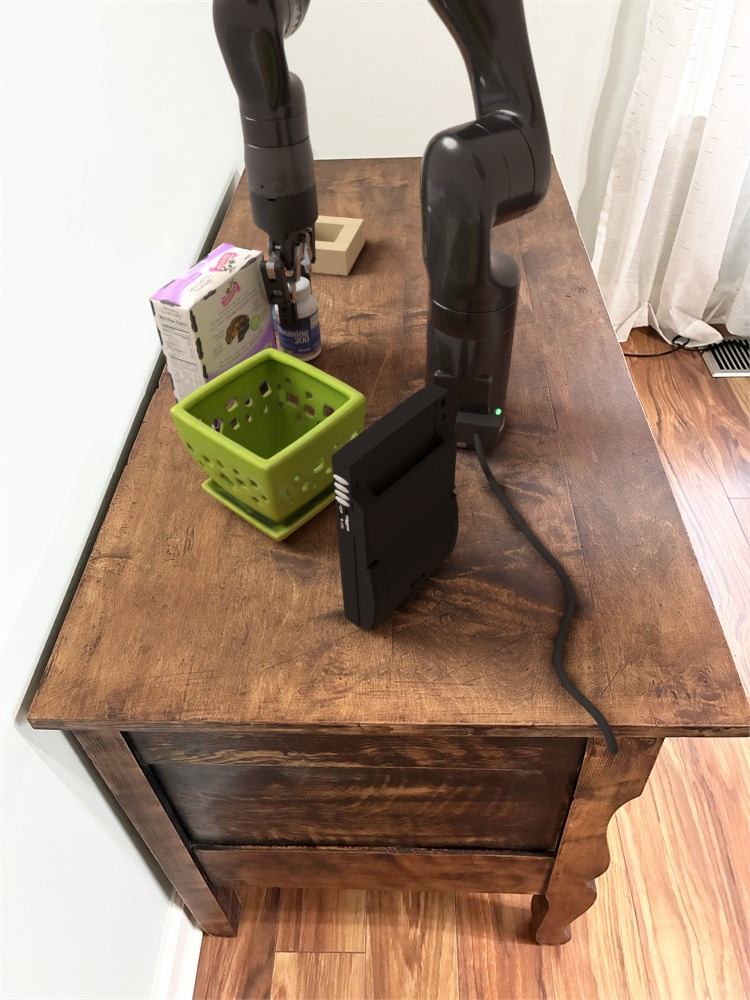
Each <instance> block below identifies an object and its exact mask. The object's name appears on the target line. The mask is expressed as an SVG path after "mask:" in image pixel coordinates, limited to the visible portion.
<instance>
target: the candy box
mask: <svg viewBox="0 0 750 1000" xmlns="http://www.w3.org/2000/svg"><path fill="white" fill-rule="evenodd" d="M261 260H265V257H264V252H263V251H262V250H257V249H253V248H248V247H245V246H238V245H236V244H235V245H234V244H231V243H227V242H226V243H225V242H223V243H222V244H221V245H218V247H216V248H215V249H213V250H212V251H211V252H210V253H208V254H207V255H206V256H204V257H203V258H201V259H199V261H198V262H196V263H195V264H193V265H191V266H190V267H189V268H188V269H186V270H184V271H183V272H181V274H179V275H178V276H176V277H174V279H172V280H171V281H170V282H168V283H167V284H165V285H164V286H163V287H161V288H160V289H158V290H157V291H156V292H154V293H153V294H151V295H150V296H148V300H149V304H150V306H151V312H152V316H153V319H154V323H155V326H156V330H157V334H158V337H159V342H160V346H161V349H162V353H163V357H164V361H165V365H166V369H167V372H168V376H169V380H170V384H171V386H172V387H171V388H172V391H173V395H174V399H175V403H176V404H178V403H179V402H180V401H182V400H183V399H184V398H186V397H187V396H189V395H190V394H192V393H193V392H195V391H196V390H197V389H199V388H201V387H202V386H204V385H205V384H207V383H208V382H210V381H211V380H213V379H215V378H216V377H218V376H219V375H221V374H223V373H224V372H226V371H228V370H229V369H231V368H233V367H234V366H236V365H238V364H239V363H241V362H243V361H245V360H246V359H248V358H250V357H252V356H254V355H256V354H257V353H259V352H261V351H263V350H265V349H268V348H273V349H276V350H278V343H277V337H276V330H275V329H274V322H273V315H272V309H271V305H269V304H268V300H267V296H266V291H265V287H264V283H263V279H262V275H261V271H260V262H261ZM265 384H267V382H266V381H264V382H263V383H262V384H261V385H260V386H259V389H262V387H264V385H265ZM248 401H250V397H249V398H247V400H246V403H247V402H248ZM234 405H235V400H234V397H233V398H231V399H230V400H229V401H228V402H227V403H226V408H227V410H229V409H230V408H231V407H232V406H234ZM199 420H200V421H201V419H199ZM211 428H212V429H214V430H216V431H217V430H220V428H221V420H220V419H214V421H213V424H212V427H211Z"/></svg>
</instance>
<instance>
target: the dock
mask: <svg viewBox="0 0 750 1000" xmlns="http://www.w3.org/2000/svg"><path fill="white" fill-rule="evenodd" d="M365 235H366V234H365V219H364V218H356V217H355V218H354V217H342V216H330V215H319V214H318V219H317V221H316V222H315V251H316V261H315V264H311V265H312V269H313V271H312V273H317V274H327V275H337V276H348V275H349V273H350V271H351V270H352V268H353V266H354V264H355V263H356V260H357V258H358V256H359V254H360V253H361V251H362V249H363V248H364V245H365V243H366V241H365V240H366V239H365V238H366V237H365Z"/></svg>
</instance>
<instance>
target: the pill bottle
mask: <svg viewBox="0 0 750 1000" xmlns="http://www.w3.org/2000/svg"><path fill="white" fill-rule="evenodd" d="M288 287H289V283H288ZM311 288H312V286H311V287H310V282H309V280H308V279H306V278H304V277H300V281H299V282H298V283H297V284H296V302H297V311H298V320H299V325H298V327H297V329H295V330H293V329H284V328H282V327H281V326H280V320H279V312H278V305H275V314H276V321H277V328H278V330H277V335H278V336H277V337H278V343H279V351H281V352H284V353H286V354H288V355H291V356H293V357H295V358H297V359H299V360H301V361H303V362H308V361H311V360H313V359H316V357H318V356H319V355H320V353H321V351H322V338H321V326H320V325H321V324H320V316H319V305H318V304H319V303H318V300H317V298H316V297H315V296H314V295H313V294H312V295H311Z"/></svg>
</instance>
